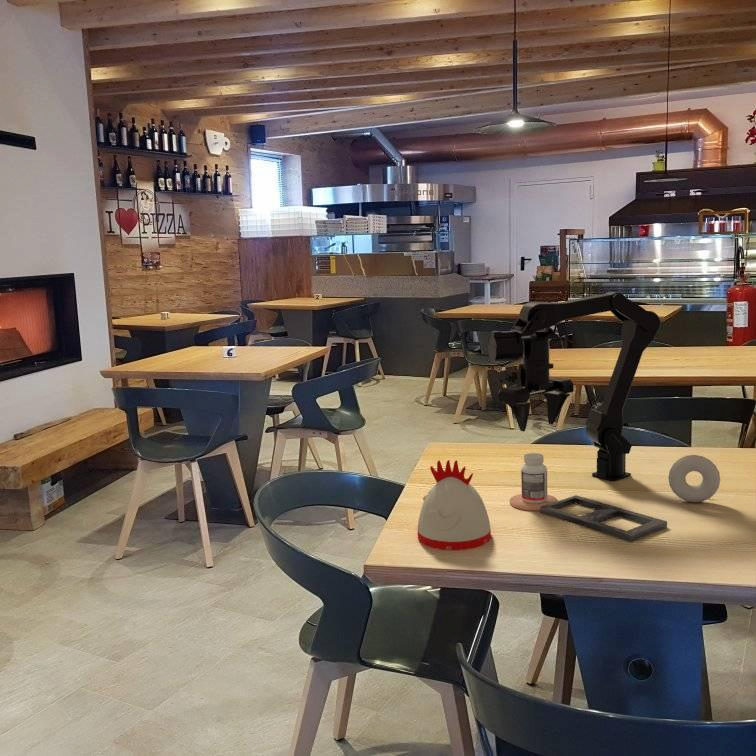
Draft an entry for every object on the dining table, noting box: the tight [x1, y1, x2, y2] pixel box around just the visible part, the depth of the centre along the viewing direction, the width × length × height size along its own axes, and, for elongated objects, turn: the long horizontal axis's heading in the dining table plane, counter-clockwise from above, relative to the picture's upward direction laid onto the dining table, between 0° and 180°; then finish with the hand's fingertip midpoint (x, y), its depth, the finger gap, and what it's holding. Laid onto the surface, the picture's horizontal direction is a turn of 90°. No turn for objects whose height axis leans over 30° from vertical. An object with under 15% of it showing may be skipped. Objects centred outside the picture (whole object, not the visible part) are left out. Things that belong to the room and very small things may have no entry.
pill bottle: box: [520, 452, 548, 504], centre depth 168 cm, size 5×5×10 cm
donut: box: [667, 454, 721, 504], centre depth 164 cm, size 10×3×10 cm, turn 74°
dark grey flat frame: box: [539, 494, 668, 543], centre depth 157 cm, size 11×22×1 cm, turn 36°
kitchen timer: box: [417, 459, 492, 551], centre depth 151 cm, size 14×14×15 cm
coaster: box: [509, 493, 559, 512], centre depth 169 cm, size 10×10×1 cm
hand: (537, 427), depth 180 cm, fingers open, 9 cm apart
